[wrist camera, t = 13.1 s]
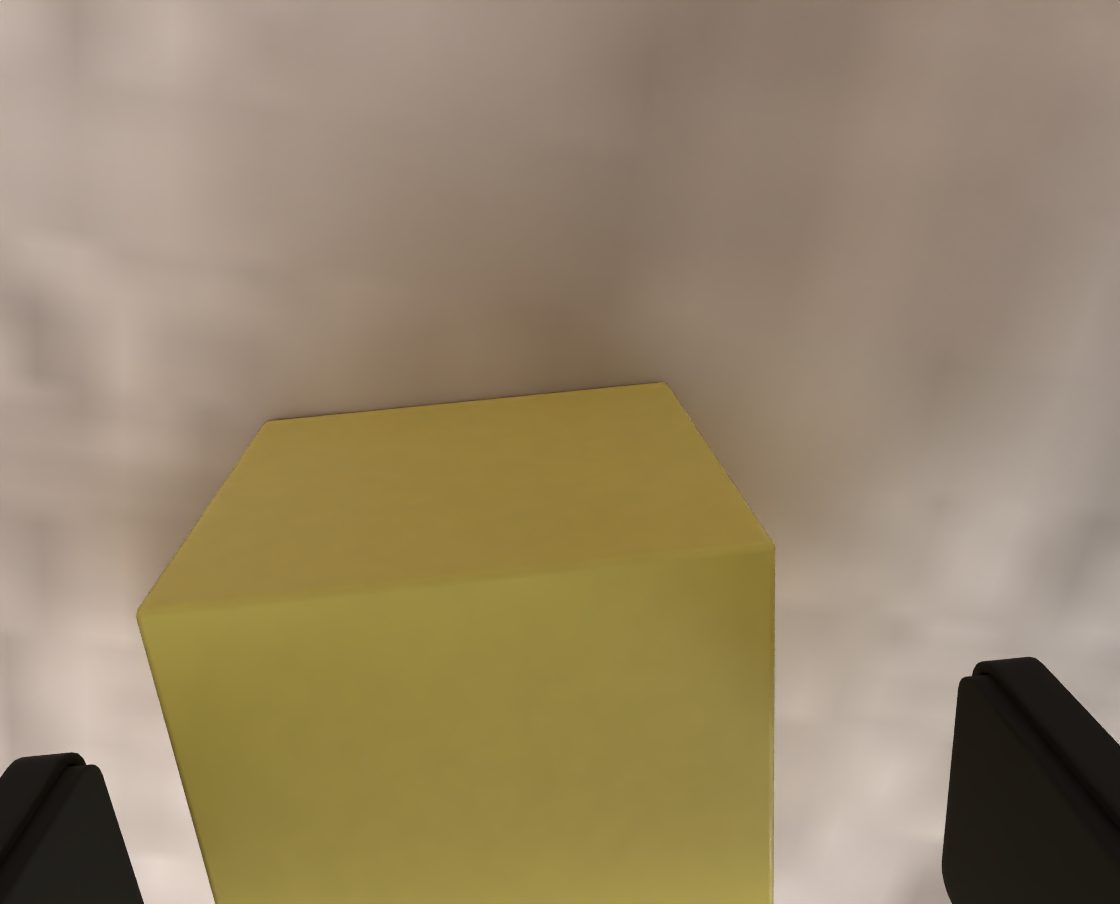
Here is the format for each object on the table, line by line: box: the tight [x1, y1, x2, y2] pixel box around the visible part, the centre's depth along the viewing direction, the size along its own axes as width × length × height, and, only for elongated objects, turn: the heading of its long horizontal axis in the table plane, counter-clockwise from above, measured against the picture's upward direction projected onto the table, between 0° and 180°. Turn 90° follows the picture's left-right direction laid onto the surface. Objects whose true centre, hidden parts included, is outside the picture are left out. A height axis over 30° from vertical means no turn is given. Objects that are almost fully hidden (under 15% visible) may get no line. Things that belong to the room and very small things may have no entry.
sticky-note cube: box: [136, 382, 775, 904], centre depth 13 cm, size 6×6×6 cm
